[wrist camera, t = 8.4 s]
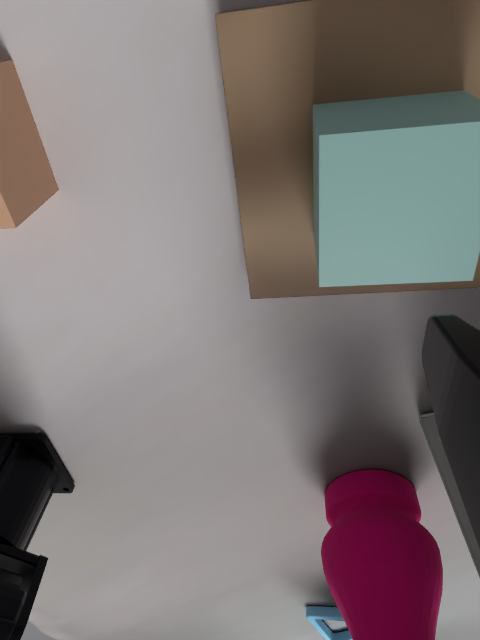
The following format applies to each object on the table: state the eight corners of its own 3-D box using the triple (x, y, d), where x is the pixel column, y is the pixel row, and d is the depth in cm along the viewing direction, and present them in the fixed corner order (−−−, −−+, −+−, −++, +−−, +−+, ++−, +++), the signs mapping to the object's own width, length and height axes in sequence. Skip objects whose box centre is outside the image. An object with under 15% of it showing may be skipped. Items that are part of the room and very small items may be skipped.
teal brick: (439, 227, 18) (472, 280, 15) (313, 235, 18) (319, 286, 15) (463, 89, 15) (511, 118, 12) (312, 104, 15) (319, 135, 12)
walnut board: (493, 271, 20) (503, 285, 19) (252, 285, 22) (250, 298, 21) (572, -38, 14) (593, -40, 13) (219, 12, 15) (214, 14, 14)
